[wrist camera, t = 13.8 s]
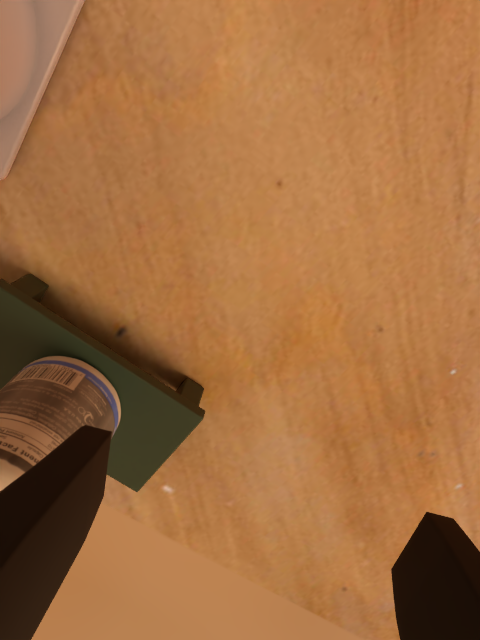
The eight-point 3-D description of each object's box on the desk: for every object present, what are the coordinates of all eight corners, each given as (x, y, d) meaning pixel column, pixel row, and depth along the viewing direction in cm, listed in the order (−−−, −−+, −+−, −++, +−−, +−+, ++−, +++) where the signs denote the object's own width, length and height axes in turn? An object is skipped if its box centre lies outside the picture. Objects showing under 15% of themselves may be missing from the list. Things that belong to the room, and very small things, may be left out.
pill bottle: (85, 458, 20) (-38, 663, 13) (-1, 397, 19) (-191, 580, 12) (146, 402, 18) (45, 601, 11) (55, 330, 17) (-127, 495, 10)
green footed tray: (-21, 354, 21) (-55, 380, 19) (25, 264, 19) (-8, 282, 17) (150, 459, 23) (137, 493, 21) (212, 388, 21) (203, 419, 18)
